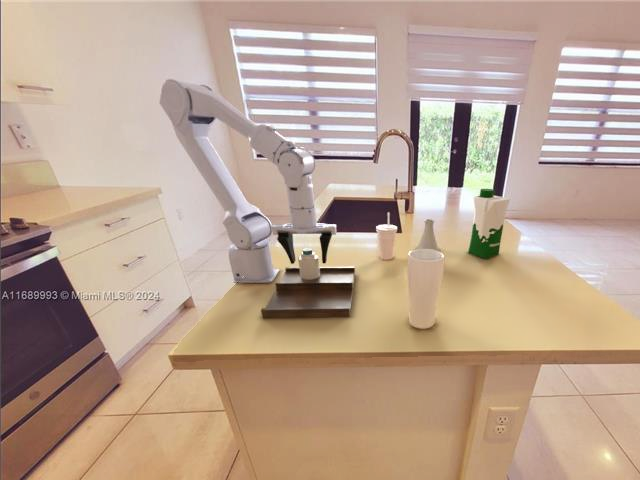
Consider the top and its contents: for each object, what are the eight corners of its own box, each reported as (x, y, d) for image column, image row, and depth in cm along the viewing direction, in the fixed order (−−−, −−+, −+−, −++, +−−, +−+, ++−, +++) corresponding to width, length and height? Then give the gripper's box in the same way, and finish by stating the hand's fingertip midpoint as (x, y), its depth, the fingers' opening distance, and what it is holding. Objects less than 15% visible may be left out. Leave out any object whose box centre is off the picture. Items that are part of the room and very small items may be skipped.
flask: (441, 249, 106) (444, 219, 102) (432, 255, 101) (434, 224, 96) (423, 245, 110) (424, 216, 105) (412, 250, 104) (414, 220, 99)
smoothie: (394, 262, 95) (395, 215, 88) (373, 260, 96) (373, 214, 89) (398, 255, 100) (399, 210, 94) (379, 253, 101) (379, 209, 95)
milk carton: (480, 247, 109) (489, 187, 99) (503, 255, 102) (514, 191, 93) (464, 252, 104) (471, 189, 94) (486, 260, 97) (497, 194, 88)
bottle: (298, 279, 77) (295, 253, 74) (302, 272, 82) (299, 246, 78) (318, 279, 78) (315, 253, 74) (321, 272, 82) (318, 246, 79)
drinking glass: (428, 336, 61) (434, 264, 54) (399, 325, 64) (401, 255, 57) (443, 320, 66) (450, 253, 59) (415, 311, 69) (419, 246, 62)
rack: (262, 318, 65) (260, 306, 64) (287, 276, 84) (285, 267, 82) (349, 316, 66) (349, 305, 65) (355, 276, 85) (354, 266, 84)
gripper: (264, 210, 68) (274, 268, 74) (332, 210, 69) (336, 268, 75) (273, 203, 74) (282, 257, 80) (335, 204, 75) (339, 257, 81)
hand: (309, 262), depth 78 cm, fingers open, 7 cm apart
